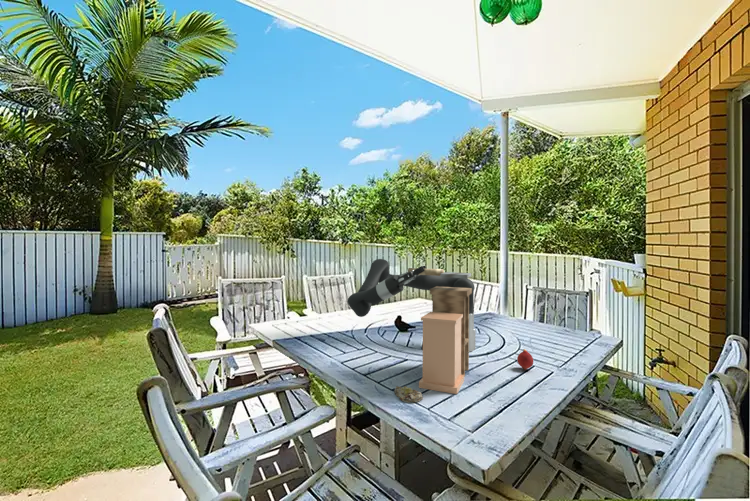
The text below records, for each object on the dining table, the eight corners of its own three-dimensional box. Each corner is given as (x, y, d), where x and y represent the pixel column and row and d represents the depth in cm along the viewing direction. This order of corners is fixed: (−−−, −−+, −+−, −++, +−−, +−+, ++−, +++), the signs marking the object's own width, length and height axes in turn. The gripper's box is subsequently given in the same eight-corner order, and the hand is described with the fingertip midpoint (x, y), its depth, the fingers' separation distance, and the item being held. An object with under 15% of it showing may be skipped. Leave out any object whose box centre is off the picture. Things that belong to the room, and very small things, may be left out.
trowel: (405, 275, 141) (405, 268, 140) (412, 273, 149) (412, 267, 149) (467, 278, 131) (467, 271, 131) (471, 276, 139) (471, 269, 139)
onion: (532, 367, 142) (532, 347, 142) (534, 372, 136) (534, 352, 136) (516, 366, 144) (516, 346, 144) (517, 371, 138) (517, 350, 138)
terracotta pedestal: (418, 387, 122) (419, 317, 122) (429, 375, 134) (429, 311, 134) (457, 394, 117) (457, 321, 117) (464, 380, 129) (464, 314, 128)
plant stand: (429, 372, 137) (429, 289, 136) (436, 364, 146) (436, 286, 145) (466, 378, 131) (467, 291, 130) (471, 369, 140) (471, 288, 139)
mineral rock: (430, 391, 114) (414, 391, 109) (428, 405, 113) (412, 406, 108) (404, 382, 122) (389, 382, 117) (402, 396, 121) (386, 396, 116)
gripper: (378, 281, 143) (414, 260, 136) (391, 278, 155) (425, 258, 149) (387, 297, 141) (424, 277, 135) (399, 293, 154) (433, 274, 148)
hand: (424, 268), depth 142 cm, fingers closed on trowel, 2 cm apart
